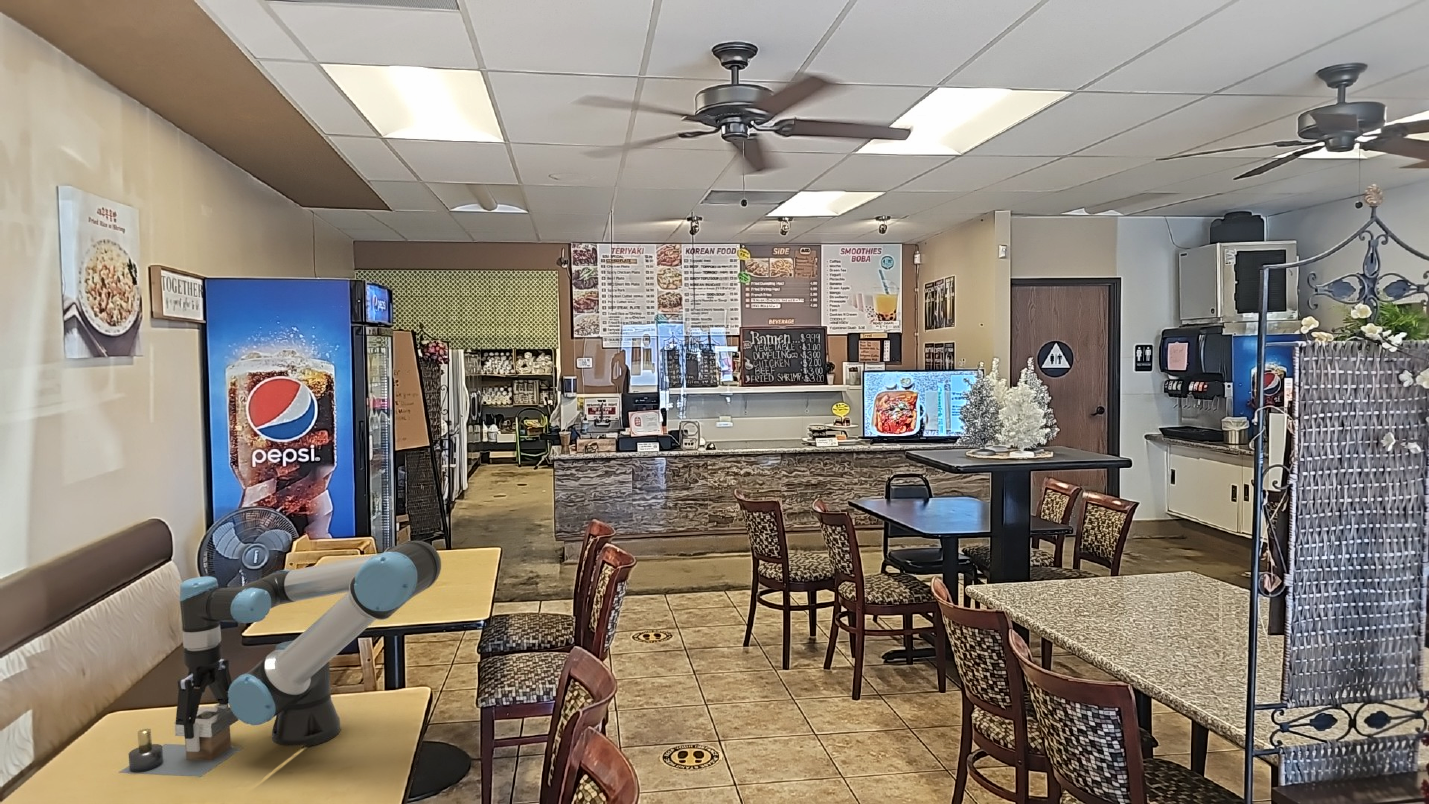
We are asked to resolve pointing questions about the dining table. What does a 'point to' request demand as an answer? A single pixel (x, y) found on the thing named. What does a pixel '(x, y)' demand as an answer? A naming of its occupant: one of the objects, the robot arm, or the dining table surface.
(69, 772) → the dining table surface
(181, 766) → the board
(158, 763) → the hub
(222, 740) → the stand
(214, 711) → the silver square ring
